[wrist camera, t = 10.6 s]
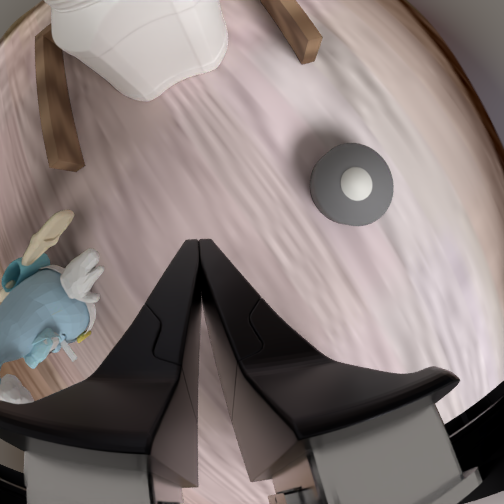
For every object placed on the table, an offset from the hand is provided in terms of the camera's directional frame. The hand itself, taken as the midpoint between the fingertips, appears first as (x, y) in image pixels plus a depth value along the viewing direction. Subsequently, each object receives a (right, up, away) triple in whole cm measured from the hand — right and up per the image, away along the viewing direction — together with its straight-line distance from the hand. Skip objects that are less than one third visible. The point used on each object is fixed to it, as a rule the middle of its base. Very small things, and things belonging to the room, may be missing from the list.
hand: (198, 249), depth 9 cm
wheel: (+9, +5, +12) cm, 16 cm away
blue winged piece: (-15, -5, +14) cm, 21 cm away
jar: (-6, +18, +11) cm, 22 cm away
